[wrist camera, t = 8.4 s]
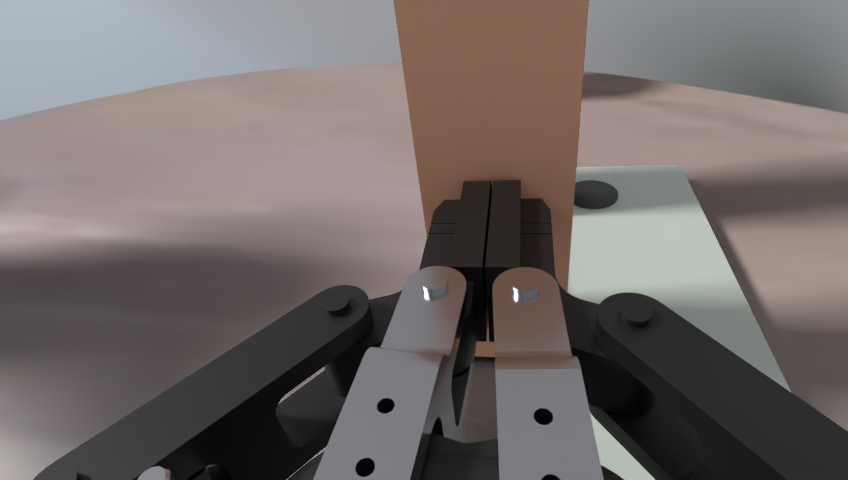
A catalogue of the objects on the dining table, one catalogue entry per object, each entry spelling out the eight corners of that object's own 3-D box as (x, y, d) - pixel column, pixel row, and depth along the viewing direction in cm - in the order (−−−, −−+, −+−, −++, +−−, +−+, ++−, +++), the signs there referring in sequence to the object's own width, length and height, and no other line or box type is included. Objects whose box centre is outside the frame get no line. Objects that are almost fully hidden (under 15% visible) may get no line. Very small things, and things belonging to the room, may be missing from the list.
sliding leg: (727, 368, 16) (994, -339, 7) (443, 354, 18) (362, -223, 9) (693, 282, 19) (847, -282, 10) (455, 278, 21) (405, -205, 12)
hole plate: (1047, 992, 8) (1094, 1000, 8) (448, 850, 10) (442, 846, 10) (677, 180, 29) (680, 162, 28) (498, 183, 31) (498, 167, 30)
